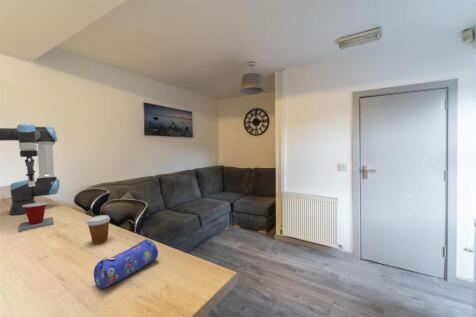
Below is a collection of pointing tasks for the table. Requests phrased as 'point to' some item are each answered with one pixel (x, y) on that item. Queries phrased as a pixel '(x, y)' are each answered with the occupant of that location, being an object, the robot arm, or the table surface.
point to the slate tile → (27, 226)
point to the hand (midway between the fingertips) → (32, 184)
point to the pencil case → (124, 263)
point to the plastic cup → (35, 212)
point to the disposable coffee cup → (99, 228)
